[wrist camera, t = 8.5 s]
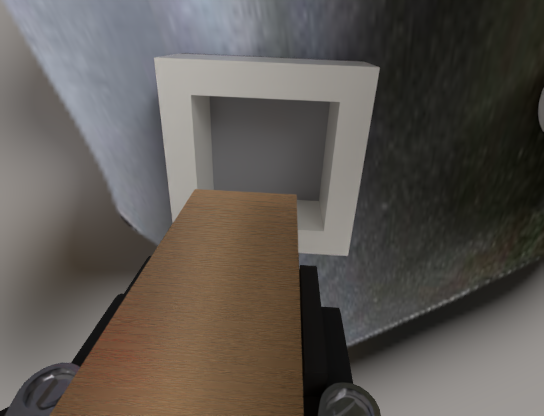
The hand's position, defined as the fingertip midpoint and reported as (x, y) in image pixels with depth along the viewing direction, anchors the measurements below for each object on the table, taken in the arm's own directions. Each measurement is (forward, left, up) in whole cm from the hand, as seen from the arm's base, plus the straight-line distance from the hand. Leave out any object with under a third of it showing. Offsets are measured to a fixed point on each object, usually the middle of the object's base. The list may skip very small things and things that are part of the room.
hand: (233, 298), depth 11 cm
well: (0, 0, -18) cm, 18 cm away
